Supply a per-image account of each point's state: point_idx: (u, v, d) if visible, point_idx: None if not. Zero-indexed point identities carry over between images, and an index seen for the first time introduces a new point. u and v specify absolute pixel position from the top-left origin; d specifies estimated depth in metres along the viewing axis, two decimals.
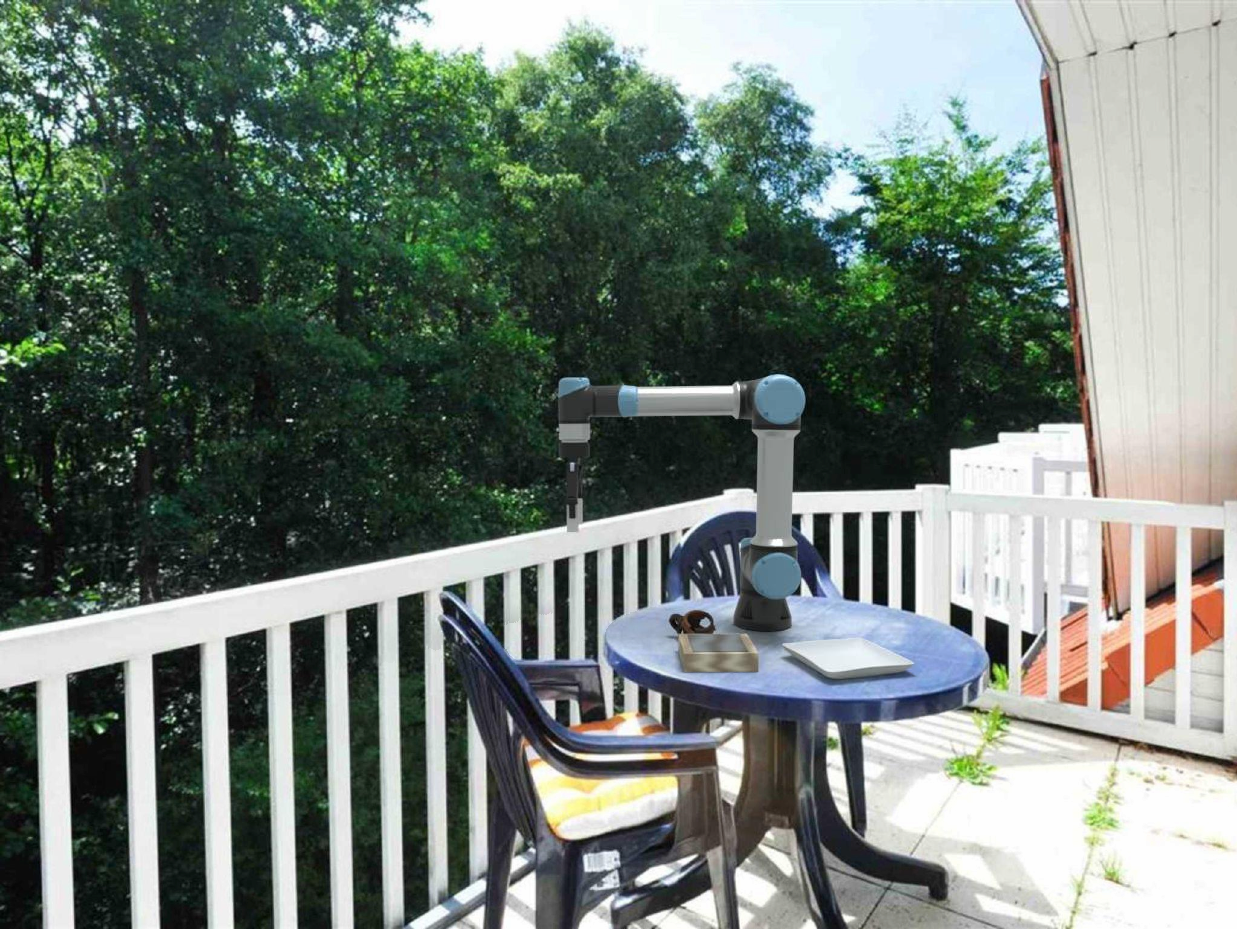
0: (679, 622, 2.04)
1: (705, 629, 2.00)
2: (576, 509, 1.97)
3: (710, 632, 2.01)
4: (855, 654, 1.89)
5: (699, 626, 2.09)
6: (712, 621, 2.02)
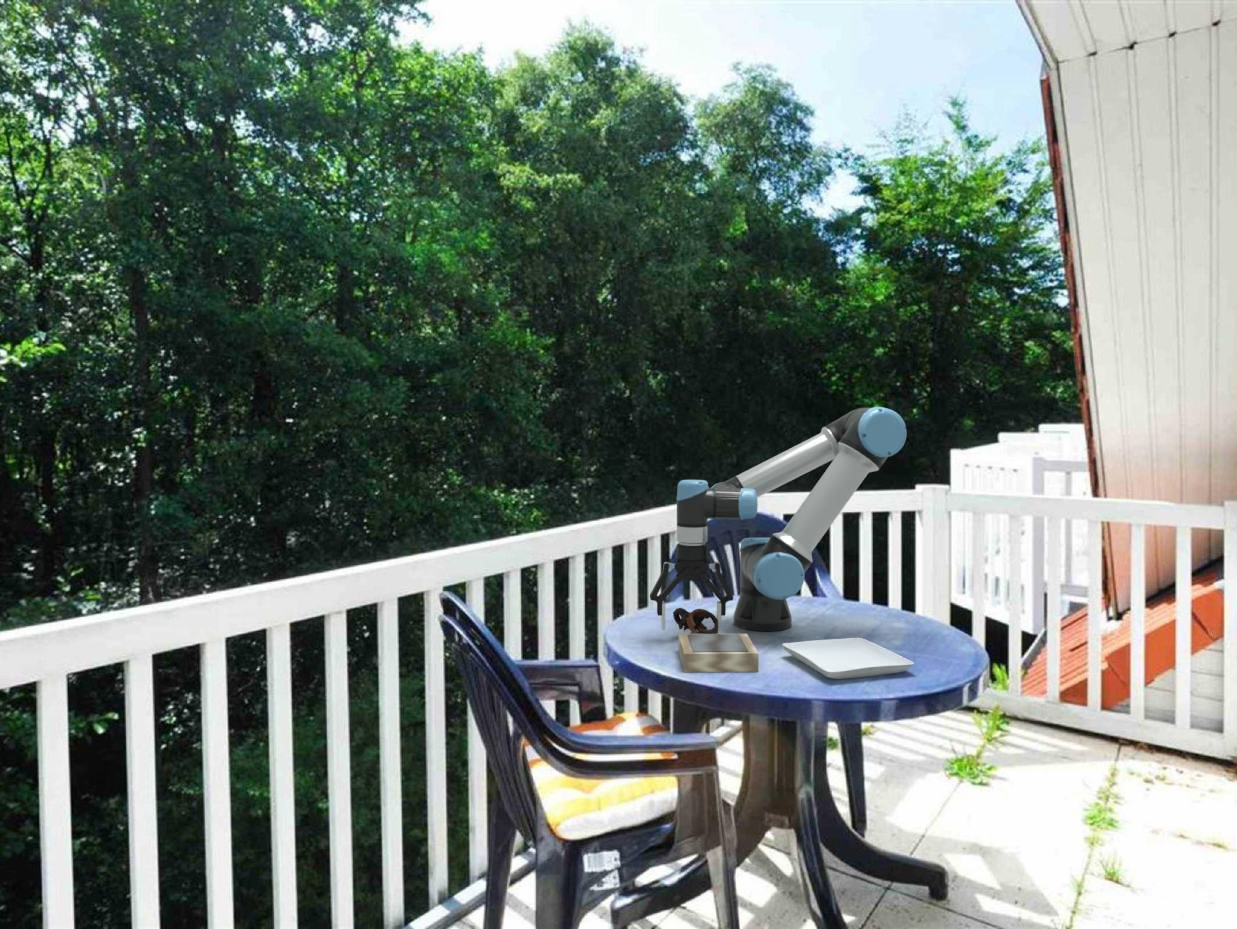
0: (684, 618, 2.05)
1: (709, 631, 2.01)
2: (662, 607, 2.04)
3: None
4: (855, 654, 1.89)
5: (701, 624, 2.10)
6: (716, 624, 2.03)
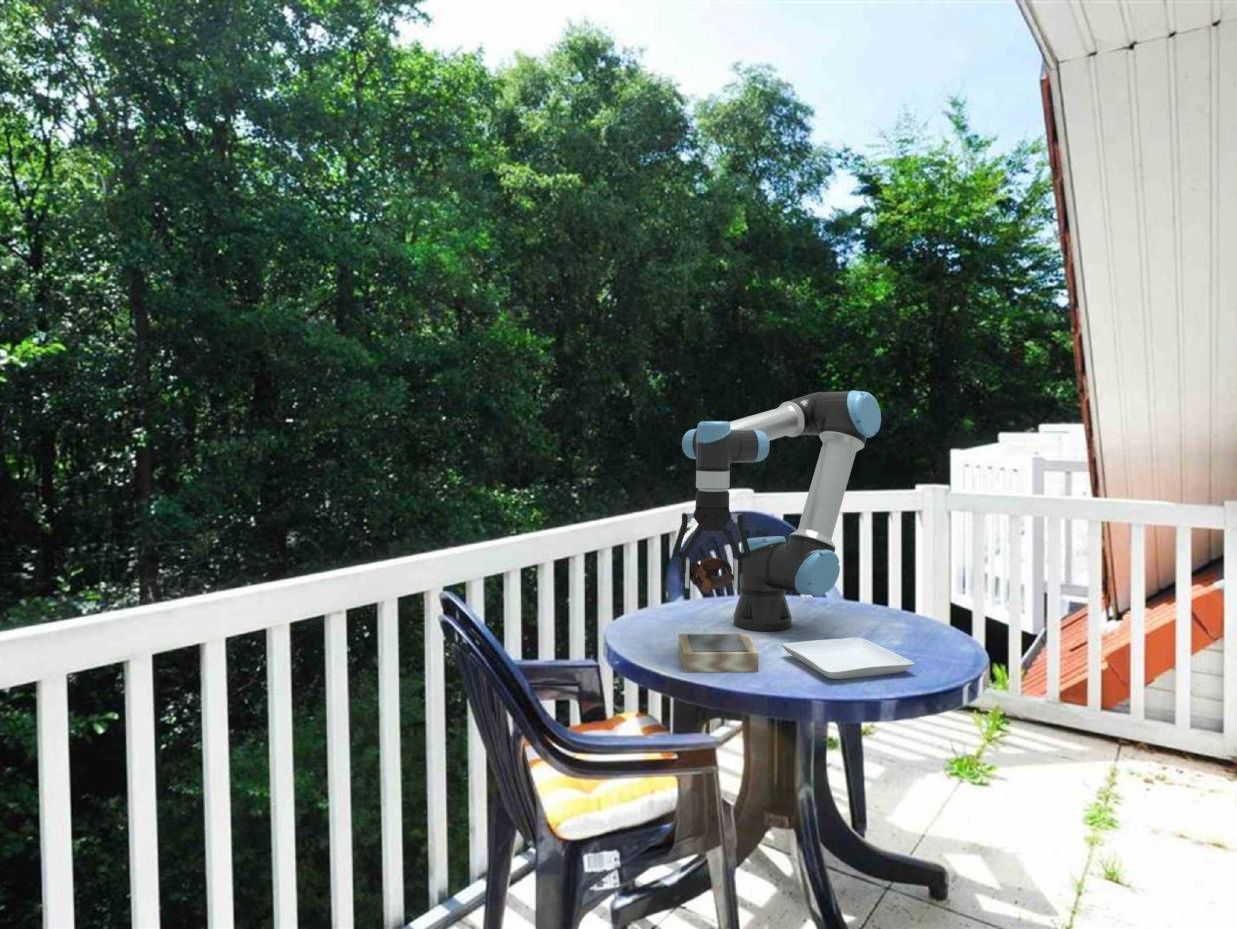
0: (694, 570, 1.89)
1: (722, 577, 1.84)
2: (685, 564, 1.87)
3: (727, 581, 1.85)
4: (855, 654, 1.89)
5: None
6: (730, 569, 1.86)
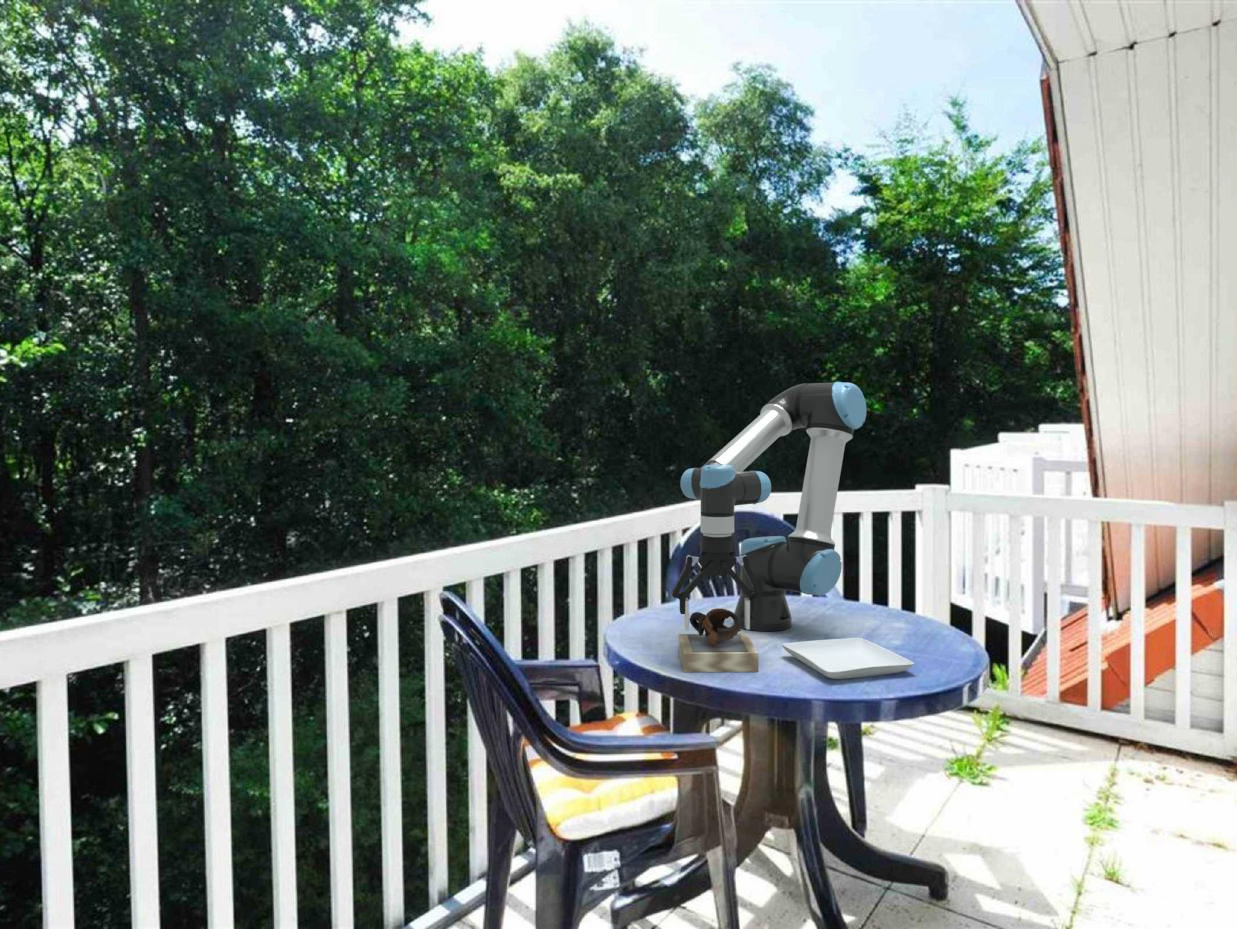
0: (700, 621, 1.88)
1: (728, 629, 1.83)
2: (685, 605, 1.86)
3: (734, 633, 1.84)
4: (855, 654, 1.89)
5: (723, 626, 1.92)
6: (736, 621, 1.85)
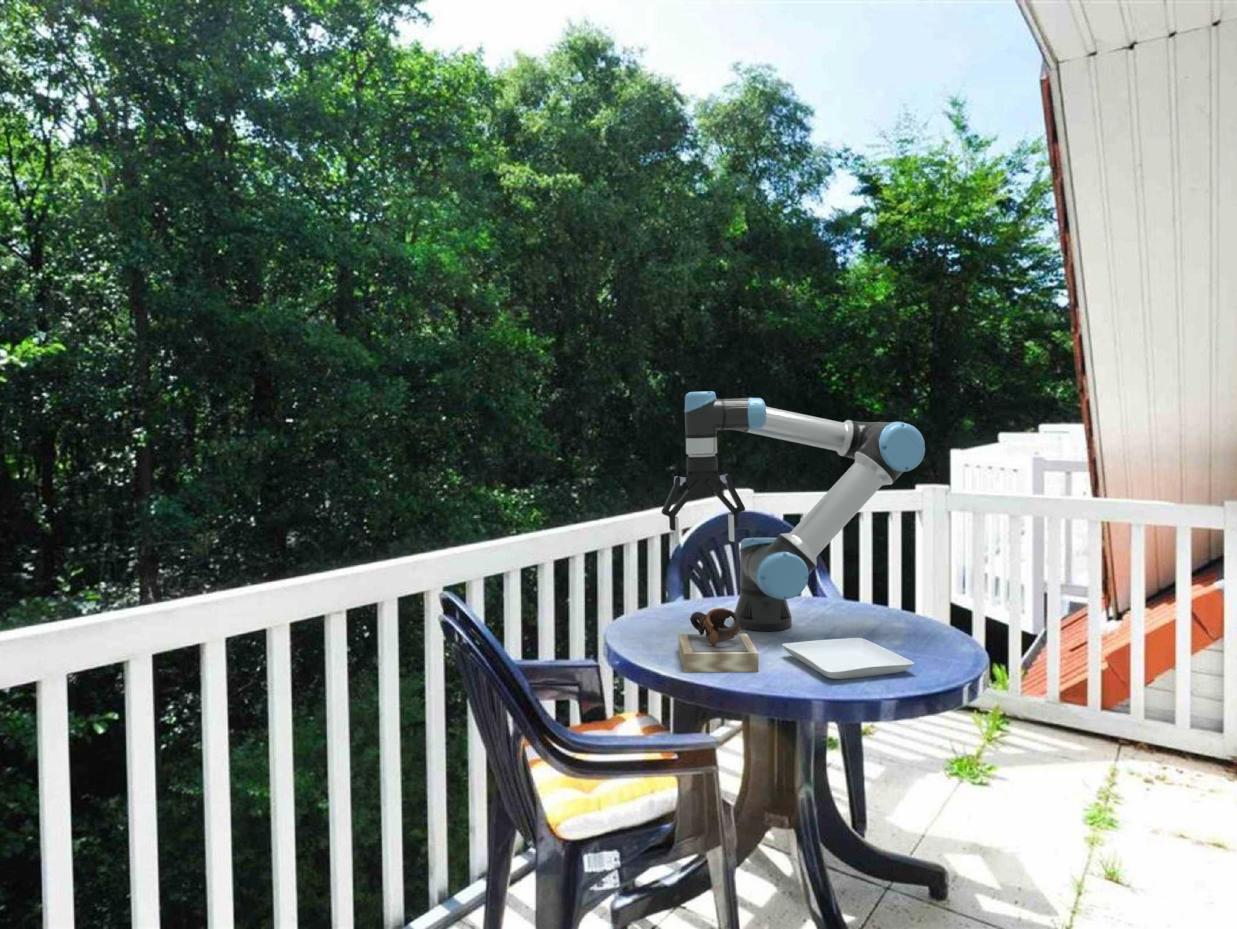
0: (701, 621, 1.88)
1: (729, 629, 1.83)
2: (675, 522, 2.01)
3: (735, 632, 1.84)
4: (855, 654, 1.89)
5: (723, 626, 1.92)
6: (737, 620, 1.85)
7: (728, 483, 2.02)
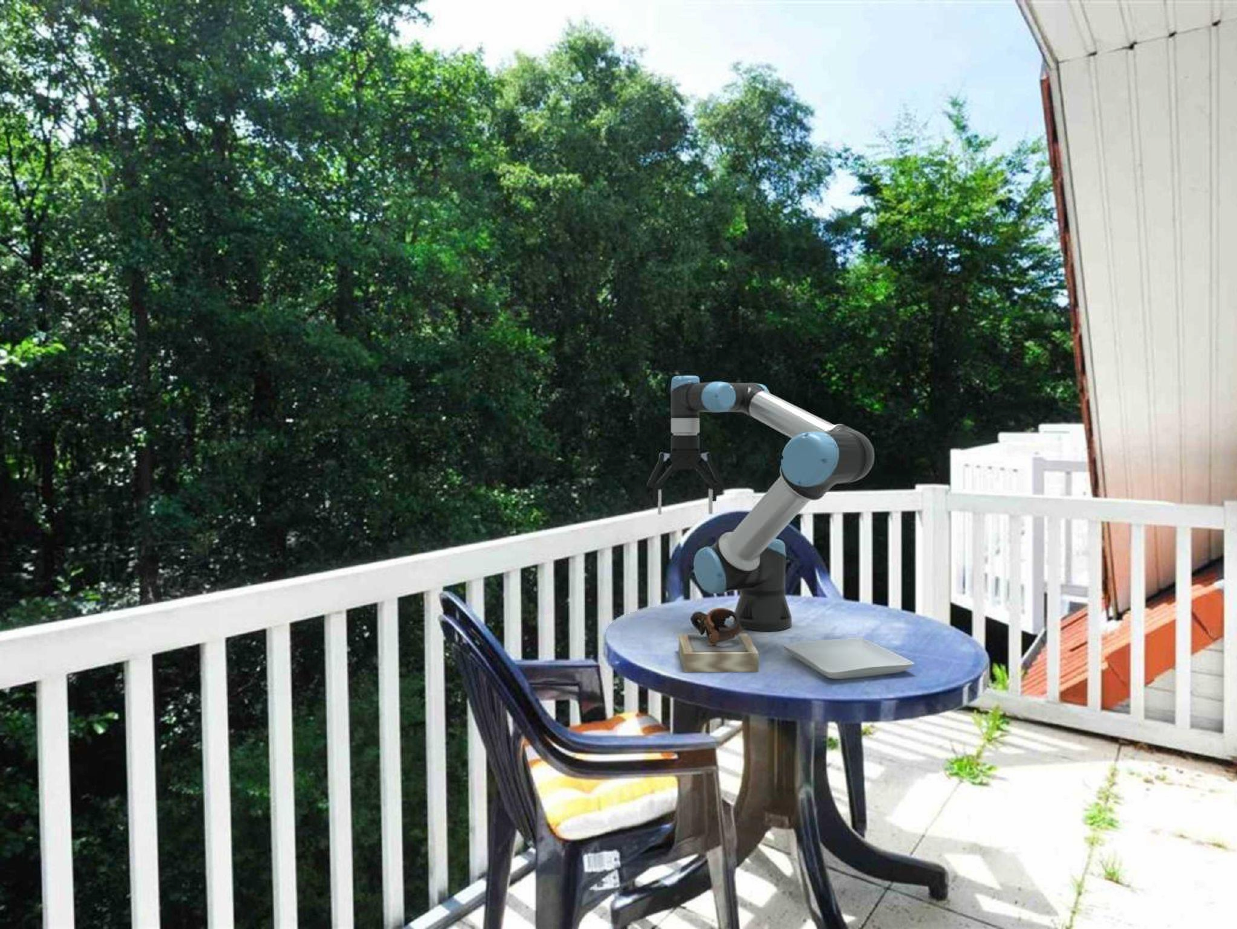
0: (702, 621, 1.88)
1: (730, 629, 1.83)
2: (658, 494, 2.21)
3: (735, 632, 1.85)
4: (855, 654, 1.89)
5: (724, 626, 1.92)
6: (738, 620, 1.86)
7: (708, 460, 2.20)
